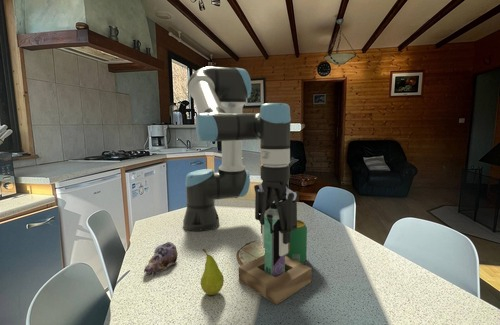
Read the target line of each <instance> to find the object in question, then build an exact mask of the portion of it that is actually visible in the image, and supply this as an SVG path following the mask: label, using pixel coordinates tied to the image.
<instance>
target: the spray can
mask: <svg viewBox="0 0 500 325" xmlns="http://www.w3.org/2000/svg"><path fill="white" fill-rule="evenodd" d="M281 230H282V229H281V224H280V219H279V214H278V209H277V206H276V205H275V201H273V203H271V207H269V209H268V210H266V211H265V214H264V238H265V248H264V255H265V272H266V273H268V274H270V275H272V276H273V277H275V278H276V277H278V276H279V275H281V274H283V273H285V255H283V256H279V231H281Z"/></svg>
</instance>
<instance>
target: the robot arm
mask: <svg viewBox="0 0 500 325" xmlns="http://www.w3.org/2000/svg"><path fill="white" fill-rule="evenodd" d="M251 81H252V80H251V76H250V74H249V72H248V71H247V70H246V69H244V68H240V67H224V66H223V67H222V66H205V67H204V66H203V67H201V68H198V69H197V70H196V71H194V72H193V73H192V74H191V75H190V77H189V79H188V81H187V91H188V93H189V96H190V97H191V98H192V99H193V100H194V103H195V106H196V110H197V113H198V114H197V115H196V117H195V133H196V138H197V139H198V141H201V142H210V143H213V142H221V164H220V165H219V166H218V171H217V172H216V171H214V169H213V168H204V169H203V168H202V169H198V170H194V171H191V172H188V173H187V174H186V176H185V184H184V186H185V193H186V194H185V196H186V198H185V199H186V210H185V213H184V217H183V225H182V226H183V228H184V229H186V230H187V231H192V232H204V231H209V230H213V229H215V228H218V226H219V224H220V218H219V217H220V216H219V214H218V212H217V209H216V207H215V206H216V205H215V204H216V203H215V201H216V200H225V199H226V200H227V199H238V198H243V197H246V195H247V194H248V193H249V190H250V186H251V179H250V178H251V176H250V175H251V174H250V172H249V171H248V170H246V166H245V165H244V163H243V141H257V140H258V141H260V142H259V143H260V146H259V147H260V164H261V166H260V180H261V181H262V182H261V183H260V184H256V185H255V184H254V186H253V189H254V192H255V196H254V197H255V200H254V201H255V202H254V203H255V204H254V207H255V208H254V219H255V220H256V221H259V223H260V234H261V236H262V237H261V240H262V242H261V243H262V244H261V245H262V246H261V247H262V249H265V238H264V214H265V211H266V210H268V209H269V207H271V203H274V202H275V205H276V206H277V209H278V214H279V219H280V224H281V229H282V230H281V231H279V256H283V255H285V254H287V253H288V243H290V232H291V231H294V230H296V229H297V220H298V205H297V204H298V203H297V202H298V197H299V195H300V194H299V192H298V191H293V190H291V189H290V186H289V181H290V178H291V167H290V165H289V164H290V163H291V148H290V147H291V121H292V118H291V107H290V105H289V104H288V103H285V102H284V103H282V102H275V103H274V102H268V103H262V104H261V105H260V107H259V108H260V110H259V112H256V113H255V112H252V113H251V112H249V113H248V112H247V113H244V112H243V107H244V106H245V105H246V104H247V99H249V98H251V96H252V82H251Z"/></svg>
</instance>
